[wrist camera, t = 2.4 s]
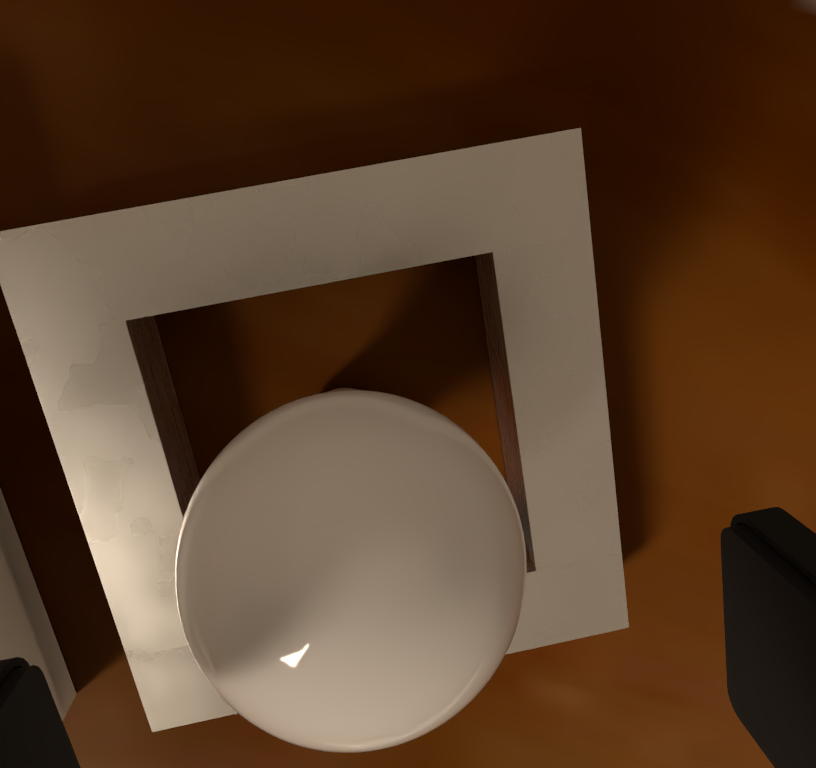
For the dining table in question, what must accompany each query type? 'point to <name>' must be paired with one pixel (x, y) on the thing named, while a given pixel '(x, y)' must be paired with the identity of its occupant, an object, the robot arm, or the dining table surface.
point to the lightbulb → (350, 571)
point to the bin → (28, 617)
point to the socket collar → (307, 266)
